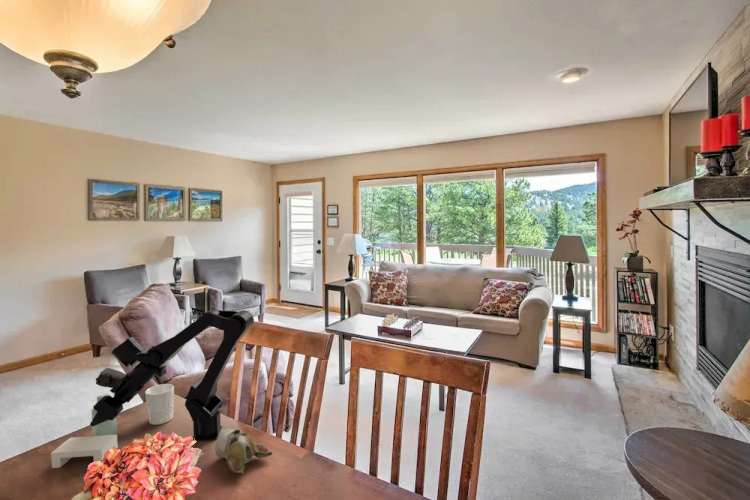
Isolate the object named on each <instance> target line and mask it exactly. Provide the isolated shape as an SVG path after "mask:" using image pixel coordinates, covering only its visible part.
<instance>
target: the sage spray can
mask: <svg viewBox="0 0 750 500" xmlns="http://www.w3.org/2000/svg"><path fill="white" fill-rule="evenodd" d="M108 395H110V394H109V393H103V394H99V395H98V396H96V403H97V402H98V401H99V400H100V399H101V398H103V397H104V396H108ZM96 413H97V411H96V410H95V409H94V408H93V407H92V409H91V421H92V420H93V418H94V416H95V415H96ZM91 427H92V436H102V435H117V436H118V427H117V416H116V417H115V418H114V419H113V420H107V421H105V422H102V423H100V424H98V425H96V426H91Z"/></svg>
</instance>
